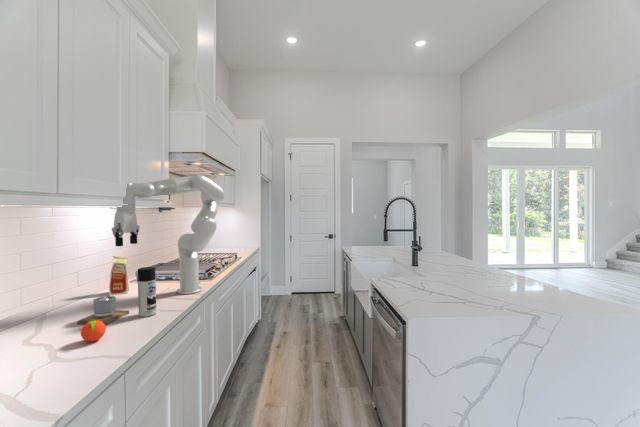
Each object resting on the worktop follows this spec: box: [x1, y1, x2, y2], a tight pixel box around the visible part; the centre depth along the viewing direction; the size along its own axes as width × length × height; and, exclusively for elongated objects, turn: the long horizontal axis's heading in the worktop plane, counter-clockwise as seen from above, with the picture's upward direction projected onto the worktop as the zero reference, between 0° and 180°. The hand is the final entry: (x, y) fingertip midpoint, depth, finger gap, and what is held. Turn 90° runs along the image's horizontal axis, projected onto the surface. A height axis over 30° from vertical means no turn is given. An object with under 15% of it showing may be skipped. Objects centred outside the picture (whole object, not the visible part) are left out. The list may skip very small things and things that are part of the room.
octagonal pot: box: [93, 295, 117, 314], centre depth 127 cm, size 7×7×5 cm
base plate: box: [76, 309, 130, 326], centre depth 127 cm, size 13×12×1 cm
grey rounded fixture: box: [95, 298, 114, 318], centre depth 127 cm, size 7×7×7 cm
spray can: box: [137, 266, 157, 318], centre depth 131 cm, size 7×7×20 cm
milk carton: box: [108, 255, 130, 296], centre depth 166 cm, size 9×9×20 cm
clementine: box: [80, 320, 107, 343], centre depth 105 cm, size 8×7×7 cm
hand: (126, 244), depth 144 cm, fingers open, 9 cm apart
